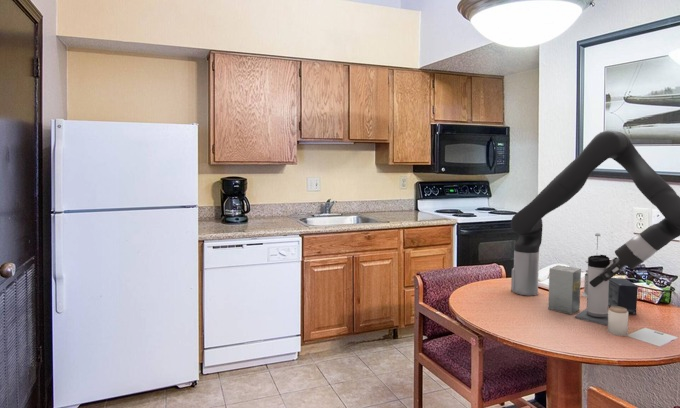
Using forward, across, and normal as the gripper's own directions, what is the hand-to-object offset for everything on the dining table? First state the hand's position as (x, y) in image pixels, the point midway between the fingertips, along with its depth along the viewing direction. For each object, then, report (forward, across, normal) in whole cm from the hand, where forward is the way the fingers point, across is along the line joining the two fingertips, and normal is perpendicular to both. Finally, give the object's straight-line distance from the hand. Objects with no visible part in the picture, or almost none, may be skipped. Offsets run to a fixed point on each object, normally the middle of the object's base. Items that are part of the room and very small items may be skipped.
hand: (592, 282), depth 150 cm
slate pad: (+8, 0, +10) cm, 12 cm away
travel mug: (+7, 0, +9) cm, 11 cm away
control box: (+15, -4, +2) cm, 15 cm away
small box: (+3, -14, +15) cm, 20 cm away
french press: (+9, -28, +9) cm, 31 cm away
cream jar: (+3, +11, +14) cm, 18 cm away
